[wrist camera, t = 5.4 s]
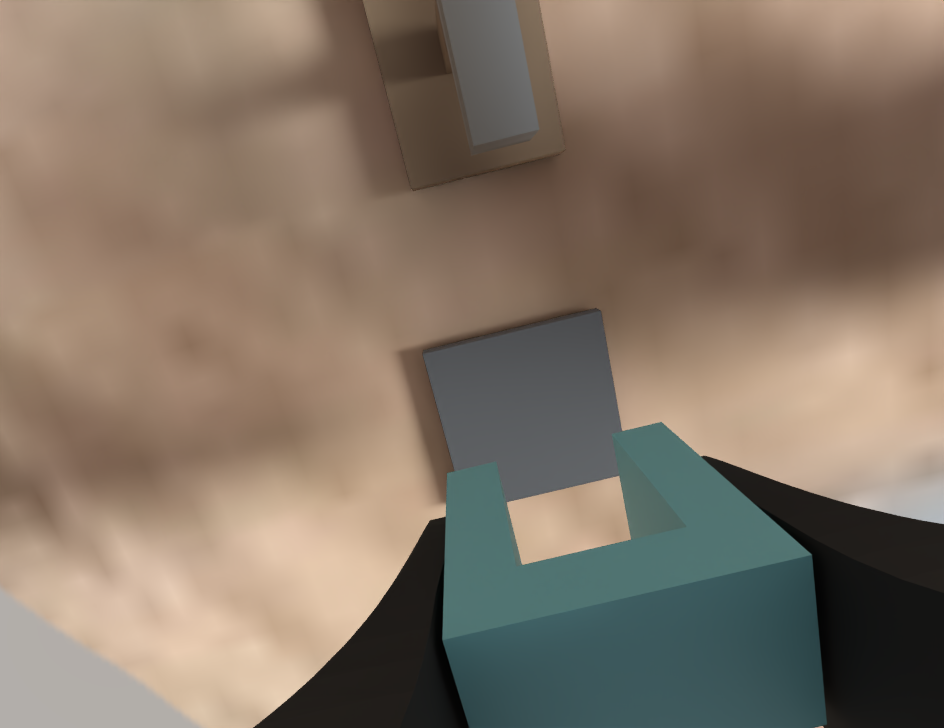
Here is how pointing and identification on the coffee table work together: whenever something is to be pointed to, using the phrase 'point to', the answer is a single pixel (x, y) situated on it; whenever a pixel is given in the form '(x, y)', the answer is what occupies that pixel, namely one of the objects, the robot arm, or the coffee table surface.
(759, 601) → the teal notched block
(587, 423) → the mat
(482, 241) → the coffee table surface
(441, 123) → the stand
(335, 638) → the coffee table surface
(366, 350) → the coffee table surface
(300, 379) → the coffee table surface
